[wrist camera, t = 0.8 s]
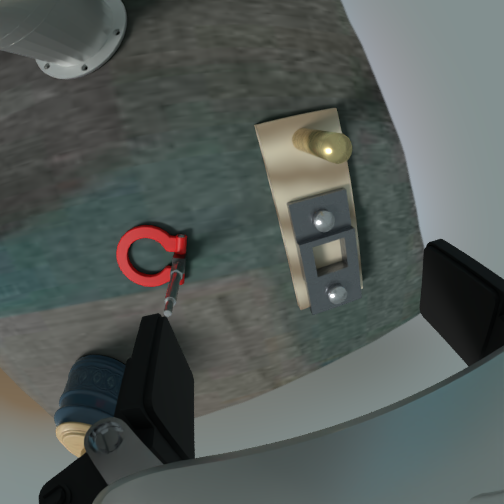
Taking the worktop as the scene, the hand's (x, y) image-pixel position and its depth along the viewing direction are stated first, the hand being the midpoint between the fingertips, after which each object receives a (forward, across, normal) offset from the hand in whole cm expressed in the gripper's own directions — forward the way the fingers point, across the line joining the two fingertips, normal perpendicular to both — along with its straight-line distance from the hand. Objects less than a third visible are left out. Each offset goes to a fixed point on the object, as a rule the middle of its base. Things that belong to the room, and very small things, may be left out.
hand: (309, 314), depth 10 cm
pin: (+28, -9, -3) cm, 29 cm away
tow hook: (+30, +13, +7) cm, 33 cm away
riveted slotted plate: (+28, -9, +12) cm, 32 cm away
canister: (+30, +30, +27) cm, 50 cm away
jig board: (+30, -9, +7) cm, 32 cm away
